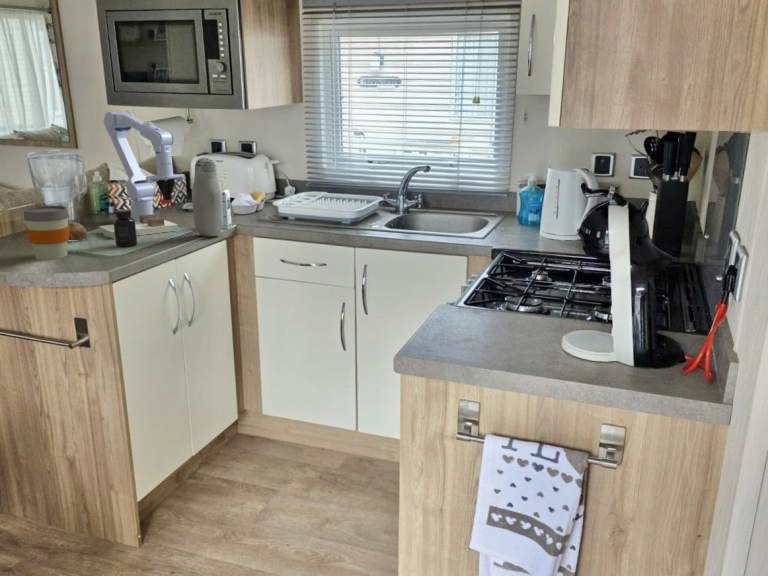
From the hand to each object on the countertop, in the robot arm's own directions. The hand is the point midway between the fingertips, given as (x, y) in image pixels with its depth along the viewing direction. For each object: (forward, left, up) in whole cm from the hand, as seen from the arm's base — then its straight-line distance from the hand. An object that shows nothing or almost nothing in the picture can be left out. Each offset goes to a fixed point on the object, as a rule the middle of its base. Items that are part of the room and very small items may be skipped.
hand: (167, 199), depth 256 cm
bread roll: (+2, -36, -11) cm, 38 cm away
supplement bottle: (+23, -25, -11) cm, 35 cm away
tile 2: (+7, -8, -8) cm, 13 cm away
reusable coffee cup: (+24, -49, -11) cm, 56 cm away
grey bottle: (+26, +4, -11) cm, 28 cm away
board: (+3, -9, -10) cm, 14 cm away
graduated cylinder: (+15, +15, -11) cm, 23 cm away
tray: (+3, -21, -10) cm, 23 cm away
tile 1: (0, -8, -8) cm, 11 cm away
